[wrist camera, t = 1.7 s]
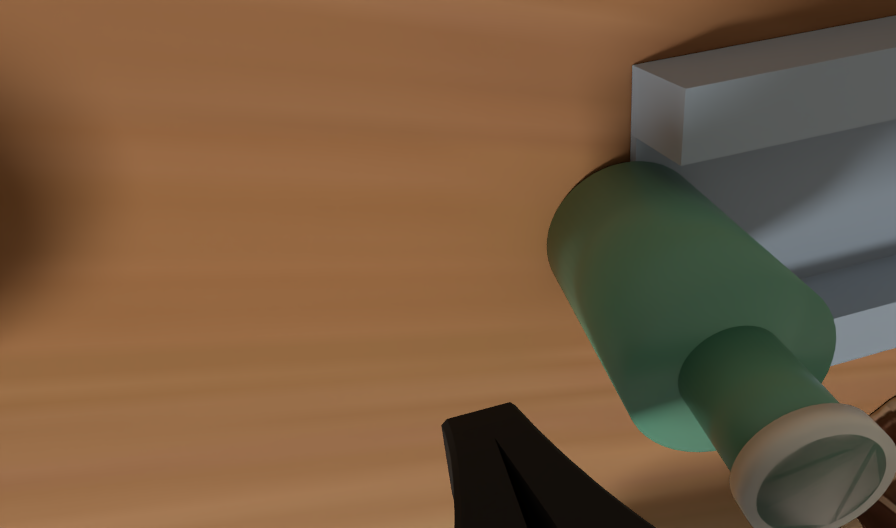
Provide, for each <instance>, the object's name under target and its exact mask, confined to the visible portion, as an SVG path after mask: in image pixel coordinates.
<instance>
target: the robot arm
mask: <svg viewBox="0 0 896 528" xmlns="http://www.w3.org/2000/svg"><path fill="white" fill-rule="evenodd" d="M441 426H442V432H443V438H444V445H445V451H446V458H447V464H448V470H449V477H450V483H451V489H452V495H453V498H454V509H455V526H454V528H656V527H654V526H653V525H651V524H650V523H648V522H647V521H646V520H644V519H643V518H641V517H640V516H639V515H637V514H636V513H635V512H633V511H632V510H631V509H629V508H628V507H627V506H625V505H624V504H623V503H622V502H620V501H619V500H618V499H616V498H615V497H614V496H613V495H611V494H610V493H609V492H607V491H606V490H605V489H604V488H603V487H601V486H600V485H599V484H598V483H596V482H595V481H594V480H593V479H592V478H591V477H589V476H588V475H587V474H586V473H585V472H584V471H583V470H581V469H580V468H579V467H578V466H577V465H576V464H574V463H573V462H572V461H571V460H570V459H569V458H568V457H567V456H566V455H564V454H563V453H562V452H561V451H560V450H559V449H558V448H557V447H556V446H555V445H554V444H553V443H552V442H551V441H550V440H548V439H547V438H546V437H545V436H544V435H543V434H542V433H541V432H540V431H539V430H538V429H537V428H536V427H535V426H534V425H533V424H532V423H531V422H530V421H529V419H528V418H527V417H526V416H525V415H524V414H523V413H522V412H521V411H520V410H519V409H518V408H517V407H516V406H515V405H514V404H512V403H510V402H509V403H505V404H501V405H498V406H494V407H490V408H486V409H483V410H479V411H475V412H471V413H468V414H464V415H460V416H457V417H453V418H449V419H446V421H445V422H444V423H443V424H442V425H441Z"/></svg>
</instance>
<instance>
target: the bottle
mask: <svg viewBox="0 0 896 528" xmlns="http://www.w3.org/2000/svg"><path fill="white" fill-rule="evenodd" d="M547 255H548V261H549V264H550V267H551V269H552V271H553V273H554V275H555V277H556V279H557V281H558V283H559V285H560V286H561V288H562V290H563V292H564V294H565V296H566V298H567V300H568V301H569V303H570V305H571V307H572V309H573V311H574V313H575V314H576V316H577V318H578V320H579V322H580V324H581V326H582V328H583V329H584V331H585V333H586V335H587V337H588V339H589V341H590V342H591V344H592V346H593V348H594V350H595V352H596V354H597V355H598V357H599V359H600V361H601V363H602V365H603V367H604V369H605V370H606V372H607V374H608V376H609V378H610V380H611V382H612V383H613V385H614V387H615V389H616V391H617V393H618V395H619V396H620V398H621V400H622V402H623V404H624V406H625V408H626V410H627V411H628V413H629V415H630V417H631V419H632V421H633V422H634V424H635V425H636V426H637V428H638V429H639V430H640V431H641V432H642V433H643V434H644V435H645V436H646V437H648V438H649V439H651V440H652V441H654V442H656V443H658V444H660V445H662V446H665V447H668V448H671V449H675V450H680V451H687V452H708V451H716V450H717V452H718V453H719V455H720V456H721V458H722V459H723V461H724V462H725V464H726V466H727V467H728V469H729V470H730V478H729V485H730V490H731V493H732V496H733V498H734V499H735V501H736V502H737V504H738V506H739V507H740V509H741V510H742V512H743V513H744V515H745V517H746V518H747V520H748V521H749V523H750V524H751V526H752V527H754V528H839V527H841V526H843V525H845V524H847V523H849V522H850V521H852V520H853V519H855V518H857V517H858V516H860V515H861V514H862V513H864V512H865V511H866V510H867V509H869V508H870V507H871V506H872V505H873V504H874V503H875V502H876V501H877V500H878V499H879V498H880V497H881V496H882V495H883V493H884V492H885V491H886V490H887V488H888V487H889V485H890V483H891V482H892V480H893V478H894V475H895V473H896V446H895V443H894V442H893V440H892V439H891V438H890V437H889V436H888V435H887V434H886V433H885V432H884V431H883V430H882V429H881V428H880V426H879V425H878V424H877V423H876V422H875V421H874V420H873V419H872V418H871V417H870V416H869V415H867V414H866V413H865V412H864V411H862V410H860V409H859V408H857V407H854V406H851V405H847V404H841V403H839V402H838V401H837V400H836V399H835V398H834V397H833V396H832V395H831V394H830V393H829V391H828V390H827V389H826V388H825V387H824V386H823V385H822V384H821V383H822V382H823V380H824V378H825V376H826V374H827V372H828V370H829V368H830V365H831V363H832V360H833V356H834V352H835V346H836V327H835V323H834V319H833V316H832V314H831V312H830V309H829V307H828V306H827V305H826V303H825V302H824V300H823V299H822V298H821V297H820V296H819V295H818V294H816V293H815V292H814V291H813V290H812V289H811V288H810V287H809V286H807V285H806V284H805V283H804V282H803V281H802V280H801V279H799V278H798V277H797V276H796V275H795V274H794V273H793V272H791V271H790V270H789V269H788V268H787V267H786V266H785V265H783V264H782V263H781V262H780V261H779V260H778V259H777V258H775V257H774V256H773V255H772V254H771V253H770V252H769V251H767V250H766V249H765V248H764V247H763V246H762V245H760V244H759V243H758V242H757V241H756V240H755V239H754V238H752V237H751V236H750V235H749V234H748V233H747V232H746V231H744V230H743V229H742V228H741V227H740V226H739V225H738V224H736V223H735V222H734V221H733V220H732V219H731V218H730V217H728V216H727V215H726V214H725V213H724V212H723V211H722V210H720V209H719V208H718V207H717V206H716V205H715V204H714V203H712V202H711V201H710V200H709V199H708V198H707V197H706V196H704V195H703V194H702V193H701V192H700V191H699V190H697V189H696V188H695V187H694V186H693V185H692V184H691V183H689V182H688V181H687V180H686V179H685V178H684V177H683V176H681V175H680V174H679V173H677V172H676V171H674V170H673V169H671V168H669V167H666V166H664V165H661V164H657V163H653V162H646V161H632V162H624V163H620V164H616V165H612V166H610V167H607V168H604V169H602V170H600V171H598V172H596V173H594V174H592V175H591V176H589V177H588V178H586V179H585V180H583V181H582V182H581V183H580V184H578V185H577V186H576V187H575V188H574V189H573V190H572V191H571V192H570V193H569V194H568V195H567V196H566V198H565V199H564V200H563V202H562V203H561V204H560V206H559V208H558V209H557V211H556V213H555V215H554V217H553V219H552V222H551V225H550V228H549V232H548V238H547Z"/></svg>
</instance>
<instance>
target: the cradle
mask: <svg viewBox="0 0 896 528" xmlns="http://www.w3.org/2000/svg"><path fill="white" fill-rule="evenodd" d="M632 161H646V162H653V163H657V164H661V165H664V166H666V167H669V168H671V169H673V170H674V171H676V172H677V173H679V174H680V175H681V176H683V177H684V178H685V179H686V180H687V181H688V182H689V183H691V184H692V185H693V186H694V187H695V188H696V189H697V190H699V191H700V192H701V193H702V194H703V195H704V196H706V197H707V198H708V199H709V200H710V201H711V202H712V203H714V204H715V205H716V206H717V207H718V208H719V209H720V210H722V211H723V212H724V213H725V214H726V215H727V216H728V217H730V218H731V219H732V220H733V221H734V222H735V223H736V224H738V225H739V226H740V227H741V228H742V229H743V230H744V231H746V232H747V233H748V234H749V235H750V236H751V237H752V238H754V239H755V240H756V241H757V242H758V243H759V244H760V245H762V246H763V247H764V248H765V249H766V250H767V251H769V252H770V253H771V254H772V255H773V256H774V257H775V258H777V259H778V260H779V261H780V262H781V263H782V264H783V265H785V266H786V267H787V268H788V269H789V270H790V271H791V272H793V273H794V274H795V275H796V276H797V277H798V278H799V279H801V280H802V281H803V282H804V283H805V284H806V285H807V286H809V287H810V288H811V289H812V290H813V291H814V292H815V293H816V294H818V295H819V296H820V297H821V298H822V299H823V300H824V302H825V303H826V305H827V306H828V307H829V309H830V312H831V314H832V316H833V319H834V323H835V327H836V346H835V352H834V356H833V360H832V363H831V365H830V366H833V365H836V364H840V363H843V362H847V361H850V360H854V359H857V358H861V357H864V356H868V355H872V354H875V353H879V352H882V351H886V350H889V349H893V348H896V15H895V16H890V17H885V18H879V19H874V20H869V21H863V22H858V23H853V24H847V25H842V26H837V27H832V28H826V29H821V30H816V31H810V32H805V33H800V34H795V35H789V36H784V37H779V38H773V39H768V40H763V41H757V42H752V43H747V44H742V45H736V46H731V47H726V48H720V49H715V50H710V51H704V52H699V53H694V54H689V55H683V56H678V57H673V58H667V59H662V60H657V61H652V62H646V63H641V64H636V65H632V106H631V148H630V162H632Z"/></svg>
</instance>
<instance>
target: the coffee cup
mask: <svg viewBox="0 0 896 528" xmlns="http://www.w3.org/2000/svg"><path fill="white" fill-rule="evenodd" d="M870 417H871V418H872V419H873V420H874V421H875V422H876V423H877V424H878V425H879V426H880V428H881V429H882V430H883V431H884V432H885V433H886V434H887V435H888V436H889V437H890V438H891V439H892V440H893V442H894V443H895V446H896V397H894V398H893V399H891V400H890V401H888V402H887V403H886V404H884V405H883V406H882V407H880V408H879V409H878V410H877V411H875V412H874V413H873V414H871V415H870ZM857 519H858V520H859V521H860V523H861V524H862V526H863V528H896V473H895V475H894V478H893V480H892V482H891V483H890V485H889V487H888V488H887V490H886V491H885V492H884V493H883V495H882V496H881V497H880V498H879V499H878V500H877V501H876V502H875V503H874V504H873V505H872V506H871V507H870V508H869V509H867V510H866V511H865V512H864V513H862V514H861V515H860V516H858V517H857Z"/></svg>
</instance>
